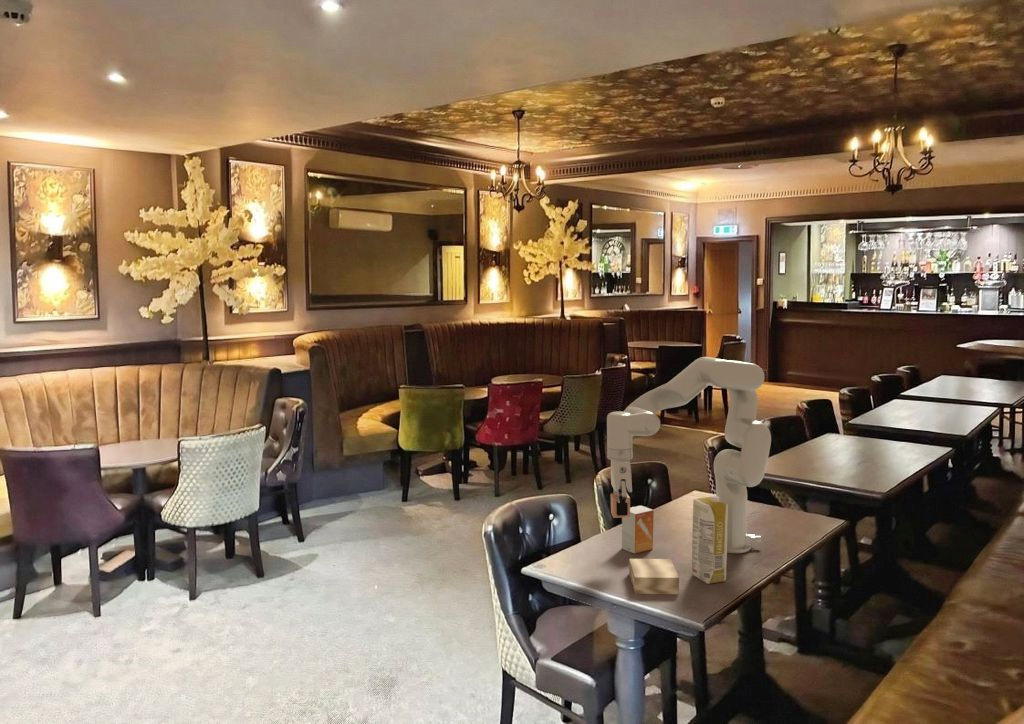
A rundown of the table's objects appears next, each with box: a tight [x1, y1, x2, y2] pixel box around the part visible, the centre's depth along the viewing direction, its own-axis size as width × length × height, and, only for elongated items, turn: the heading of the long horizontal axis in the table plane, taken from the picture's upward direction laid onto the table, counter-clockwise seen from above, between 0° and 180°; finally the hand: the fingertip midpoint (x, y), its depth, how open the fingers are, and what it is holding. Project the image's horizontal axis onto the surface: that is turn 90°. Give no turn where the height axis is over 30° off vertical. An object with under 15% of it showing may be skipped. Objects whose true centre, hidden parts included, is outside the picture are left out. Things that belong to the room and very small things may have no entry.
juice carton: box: [691, 495, 728, 585], centre depth 217 cm, size 9×8×24 cm
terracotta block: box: [610, 492, 631, 519], centre depth 229 cm, size 5×5×6 cm
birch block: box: [628, 558, 680, 595], centre depth 215 cm, size 12×14×5 cm
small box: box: [621, 504, 655, 555], centre depth 242 cm, size 8×6×13 cm
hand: (620, 511), depth 229 cm, fingers closed on terracotta block, 5 cm apart
